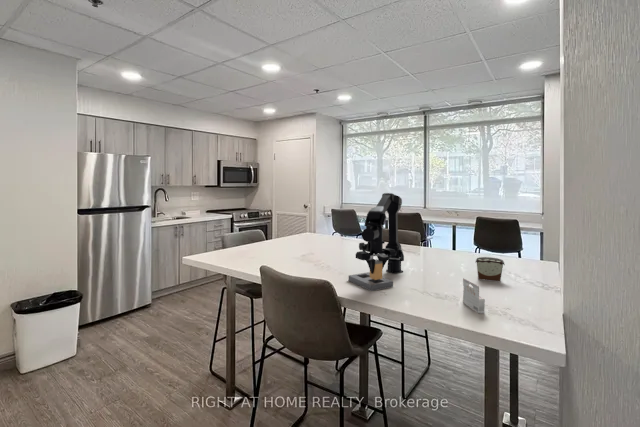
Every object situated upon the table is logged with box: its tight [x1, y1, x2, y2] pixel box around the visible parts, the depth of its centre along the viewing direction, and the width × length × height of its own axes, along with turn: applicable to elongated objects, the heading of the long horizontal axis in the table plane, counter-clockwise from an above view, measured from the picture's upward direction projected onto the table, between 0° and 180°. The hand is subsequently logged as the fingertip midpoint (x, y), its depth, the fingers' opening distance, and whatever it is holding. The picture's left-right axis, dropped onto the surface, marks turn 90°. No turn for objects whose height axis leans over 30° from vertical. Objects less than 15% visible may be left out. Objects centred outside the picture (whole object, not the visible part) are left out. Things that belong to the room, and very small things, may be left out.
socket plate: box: [348, 271, 394, 292], centre depth 152 cm, size 12×18×2 cm, turn 28°
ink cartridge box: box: [462, 278, 486, 314], centre depth 121 cm, size 2×11×10 cm, turn 5°
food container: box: [475, 256, 505, 283], centre depth 158 cm, size 12×6×10 cm, turn 65°
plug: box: [369, 258, 383, 280], centre depth 148 cm, size 4×4×8 cm
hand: (376, 272), depth 148 cm, fingers closed on plug, 4 cm apart
